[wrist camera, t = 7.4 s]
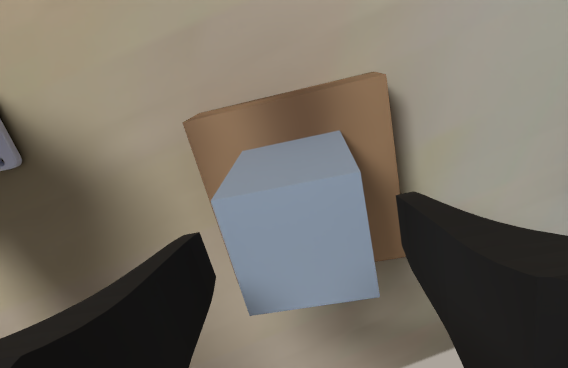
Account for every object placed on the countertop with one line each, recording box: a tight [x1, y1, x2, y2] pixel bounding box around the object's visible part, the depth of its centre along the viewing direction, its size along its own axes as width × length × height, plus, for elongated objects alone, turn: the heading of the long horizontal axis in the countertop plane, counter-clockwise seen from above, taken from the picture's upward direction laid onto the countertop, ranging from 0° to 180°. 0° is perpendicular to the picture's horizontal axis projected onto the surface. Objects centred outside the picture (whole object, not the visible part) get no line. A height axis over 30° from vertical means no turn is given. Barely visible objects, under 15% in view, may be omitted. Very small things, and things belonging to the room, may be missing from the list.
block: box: [211, 130, 380, 316], centre depth 13 cm, size 4×4×6 cm
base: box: [183, 72, 406, 284], centre depth 17 cm, size 9×9×2 cm
